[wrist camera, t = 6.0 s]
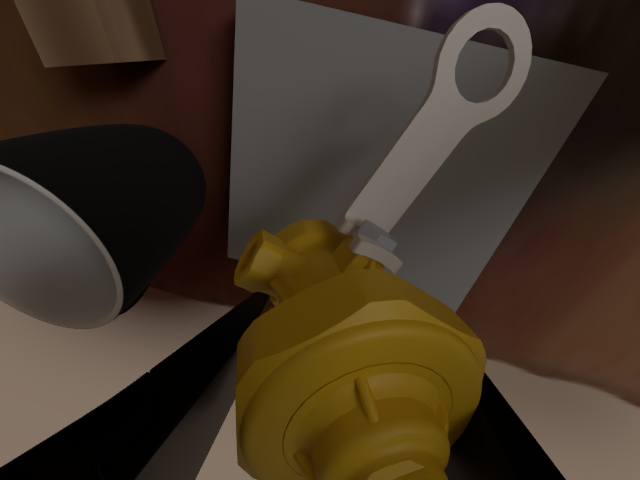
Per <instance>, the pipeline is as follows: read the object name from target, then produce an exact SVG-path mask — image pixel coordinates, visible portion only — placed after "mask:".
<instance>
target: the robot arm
mask: <svg viewBox="0 0 640 480" xmlns="http://www.w3.org/2000/svg"><path fill="white" fill-rule="evenodd" d="M269 304H270V295H269V294H266V293H262V292H255V293H253V294H252V295H251V296H249V297H248V298H247V299H245V300H244V301H243V302H241V303H240V304H239V305H237V306H236V307H234V308H233V309H232V310H230V311H229V312H228V313H227V314H225V315H224V316H222V317H221V318H220V319H218V320H217V321H216V322H214V323H213V324H212V325H210V326H209V327H207V328H206V329H205V330H203V331H202V332H201V333H199V334H198V335H197V336H195V337H194V338H193V339H191V340H190V341H189V342H187V343H186V344H185V345H183V346H182V347H180V348H179V349H178V350H176V351H175V352H174V353H172V354H171V355H170V356H168V357H167V358H166V359H164V360H163V361H162V362H160V363H159V364H158V365H156V366H155V367H153V368H152V369H151V370H150V373H149V372H146V373H145V374H144V375H143V376H141V377H140V378H138V379H137V380H136V381H134V382H133V383H132V384H130V385H129V386H127V387H126V388H125V389H123V390H122V391H120V392H119V393H117V394H116V395H115V396H113V397H112V398H111V399H109V400H108V401H106V402H104V403H103V404H101V405H100V406H98V407H97V408H95V409H94V410H92V411H90V412H89V413H87V414H86V415H84V416H83V417H81V418H80V419H78V420H76V421H75V422H73V423H71V424H70V425H68V426H67V427H65V428H63V429H62V430H60V431H59V432H57V433H55V434H54V435H52V436H51V437H49V438H47V439H46V440H44V441H43V442H41V443H39V444H38V445H36V446H34V447H33V448H31V449H30V450H28V451H26V452H25V453H24V454H21V455H20V456H18V457H17V458H15V459H13V460H12V461H10V462H9V463H7V464H6V465H4V466H2V467H0V480H195V479H196V477H197V475H198V473H199V471H200V469H201V467H202V465H203V463H204V460H205V459H206V457H207V455H208V453H209V451H210V448H211V446H212V444H213V442H214V440H215V438H216V436H217V434H218V432H219V430H220V428H221V426H222V424H223V422H224V420H225V418H226V416H227V414H228V412H229V410H230V408H231V406H232V404H233V402H234V400H235V398H236V395H235V385H236V363H237V344H238V342H239V340H240V339H241V337H242V335H243V334H244V332H245V331H246V330H247V329H248V327H249V326H250V325H251V324H252V322H253V321H254V320H255V319H257V318H258V317H260V316H261V315H263V314H264V313H266V312H267V311H269ZM444 472H445V474H446V476H447V478H448V480H566V479H565V478H564V477H563V475H562V474H561V473H560V471H559V470H558V469H557V467H556V466H555V465H554V463H553V462H552V461H551V459H550V458H549V457H548V455H547V454H546V453H545V451H544V450H543V449H542V447H541V446H540V445H539V444H538V442H537V441H536V439H535V438H534V437H533V435H532V434H531V433H530V432H529V430H528V429H527V428H526V426H525V425H524V424H523V422H522V421H521V420H520V418H519V417H518V416H517V414H516V413H515V412H514V410H513V409H512V408H511V406H510V405H509V404H508V402H507V401H506V400H505V398H504V397H503V396H502V394H501V393H500V392H499V390H498V389H497V388H496V387H495V385H494V384H493V383H492V381H491V380H490V379H489V377H488V376H487V375H486V373H485V372H484V376H483V380H482V391H481V397H480V401H479V404H478V406H477V408H476V410H475V412H474V414H473V416H472V418H471V420H470V422H469V423H468V425H467V427H466V429H465V430H464V432H463V433H462V435H461V436H460V437H459V438H458V439H457V440H456V442H455V443H454V444H453V445H452V446H451V447H450V455H449V460H448V464H447V466H446V468H445V470H444Z"/></svg>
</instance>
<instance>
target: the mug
mask: <svg viewBox="0 0 640 480" xmlns="http://www.w3.org/2000/svg"><path fill="white" fill-rule="evenodd" d="M205 195H206V183H205V178H204V174H203V171H202V169H201V166H200V164H199V163H198V161H197V159H196V158H195V156H194V155H193V154H192V152H191V151H190V150H189V149H188V148H187V147H186V146H185V145H184V144H183V143H182V142H181V141H179V140H178V139H176V138H175V137H173V136H172V135H170V134H168V133H166V132H164V131H161V130H159V129H156V128H152V127H149V126H143V125H134V124H112V125H97V126H87V127H78V128H71V129H64V130H58V131H51V132H45V133H39V134H33V135H28V136H22V137H17V138H12V139H7V140H2V141H0V300H1V301H3V302H4V303H6V304H8V305H10V306H11V307H13V308H15V309H17V310H19V311H21V312H23V313H25V314H27V315H29V316H31V317H34V318H36V319H38V320H41V321H44V322H47V323H50V324H53V325H57V326H61V327H67V328H74V329H90V328H96V327H100V326H104V325H106V324H107V323H109V322H111V321H112V320H114V319H115V318H116V317H117V316H118V315H121V314H123V313H125V312H126V311H128V310H129V309H130V308H132V307H133V306H134V305H135V304H136V303H137V302H138V301H139V299H140V298H141V297H142V296H143V294H144V293H145V291H146V290H147V288H148V287H149V285H150V283H151V281H152V280H153V279H154V278H155V276H156V275H157V274H158V273H159V272H160V270H161V269H162V268H163V267H164V266H165V264H166V263H167V262H168V261H169V259H170V258H171V257H172V256H173V254H174V253H175V252H176V250H177V249H178V248H179V246H180V245H181V244H182V242H183V241H184V239H185V238H186V237H187V235H188V234H189V232H190V231H191V229H192V228H193V226H194V224H195V222H196V221H197V219H198V217H199V215H200V213H201V211H202V208H203V205H204V201H205Z"/></svg>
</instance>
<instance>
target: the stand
mask: <svg viewBox="0 0 640 480" xmlns="http://www.w3.org/2000/svg"><path fill="white" fill-rule="evenodd" d="M444 36H445V35H444V34H440V33H435V32H431V31H427V30H423V29H418V28H414V27H410V26H406V25H401V24H397V23H393V22H389V21H384V20H380V19H376V18H372V17H367V16H363V15H359V14H355V13H350V12H346V11H342V10H338V9H333V8H329V7H325V6H321V5H316V4H312V3H308V2H304V1H299V0H236V23H235V52H234V82H233V111H232V140H231V170H230V199H229V229H228V257H229V258H233V259H237V260H239V259H240V257H241V255H242V253H243V251H244V249H245V248H246V246H247V244H248V243H249V241H250V240H251V239H252V237H253V236H254V235H255V234H256V233H257V232H259V231H260V230H265V231H267V232H269V233H271V234H272V235H274V236H275V235H276V234H277V233H279V232H280V231H281V230H282V229H284V228H285V227H287V226H288V225H290V224H292V223H295V222H298V221H302V220H309V219H319V220H326V221H328V222H329V223H331V224H333V225H335V226H336V222H337V220H338V218H339V217H340V216H341V214H342V213H343V211H344V210H345V209H346V207H347V206H348V204H349V203H350V202H351V200H352V199H353V198H354V196H355V195H356V193H357V192H358V191H359V189H360V188H361V186H362V185H363V184H364V182H365V181H366V179H367V178H368V177H369V175H370V174H371V172H372V171H373V170H374V168H375V167H376V165H377V164H378V163H379V161H380V160H381V159H382V157H383V156H384V154H385V153H386V152H387V150H388V149H389V147H390V146H391V145H392V143H393V142H394V140H395V139H396V138H397V136H398V135H399V133H400V132H401V131H402V129H403V128H404V126H405V125H406V124H407V122H408V121H409V120H410V118H411V117H412V115H413V114H414V113H415V111H416V110H417V108H418V107H419V106H420V104H421V103H422V101H423V99H424V98H425V96H426V94H427V92H428V89H429V87H430V84H431V78H432V72H433V66H434V61H435V55H436V53H437V50H438V48H439V46H440V43H441V41H442V38H443V37H444ZM508 63H509V55H508V50H507V49H503V48H499V47H495V46H490V45H486V44H482V43H478V42H473V41H469V40H467V42H466V43H465V45H464V46H463V48H462V50H461V51H460V53H459V56H458V59H457V63H456V66H455V83H456V86H457V88H458V91H459V93H460V94H461V95H462V96H463V97H464V98H465V99H466V101H470V102H473V103H477V102H482V101H484V100H485V99H487V98H489V97H490V96H492V95H493V94H494V92H495V91H496V90H497V89H498V88H499V87H500V85H501V83H502V81H503V79H504V77H505V75H506V73H507V68H508ZM608 74H609V73H605V72H601V71H597V70H592V69H588V68H584V67H580V66H575V65H571V64H567V63H563V62H558V61H554V60H550V59H546V58H541V57H537V56H533V55H531V64H530V67H529V71H528V75H527V78H526V80H525V82H524V84H523V86H522V88H521V90H520V92H519V94H518V95H517V96H516V98H515V99H514V100H513V101H512V103H511V104H510V105H509V106H508V107H507V108H506V109H505V110H503V111H502V112H501V113H500V114H498V115H497V116H495V117H493V118H491V119H489V120H487V121H485V122H482V123H480V124H478V125H476V126H475V127H473V128H472V129H471V130H469V131H468V132H467V133H466V134H465V136H464V137H463V138H462V139H461V140H460V142H459V143H458V144H457V146H456V147H455V148H454V149H453V151H452V152H451V153H450V155H449V156H448V157H447V158H446V160H445V161H444V162H443V164H442V165H441V166H440V167H439V169H438V170H437V171H436V173H435V174H434V175H433V176H432V178H431V179H430V180H429V182H428V183H427V184H426V185H425V187H424V188H423V189H422V191H421V192H420V193H419V194H418V196H417V197H416V198H415V200H414V201H413V202H412V203H411V205H410V206H409V207H408V209H407V210H406V211H405V212H404V214H403V215H402V216H401V218H400V219H399V220H398V221H397V223H396V224H395V225H394V227H393V228H392V229H391V230H390V232H389V233H388V234H390V235H391V236H392V237H393V238H394V239H395V240H396V241H397V246H396V247H395V248H394V249H393V251H392V252H393V253H394V254H395V255H396V256H397V257H398V258H399V259H400V261H401V262H402V263H403V265H402V266H401V267H400V269H399V270H398V271H397V272H396V274H395V275H396V276H397V277H399V278H401V279H403V280H405V281H407V282H409V283H411V284H412V285H414V286H416V287H417V288H419V289H421V290H423V291H424V292H426V293H428V294H429V295H431V296H432V297H434V298H436V299H437V300H439V301H440V302H442V303H443V304H445V305H447V306H448V307H450V308H451V309H452V310H453V311H454V312H456V310H457V309H458V307H459V306H460V304H461V303H462V301H463V300H464V298H465V296H466V295H467V293H468V292H469V290H470V289H471V287H472V286H473V284H474V282H475V281H476V279H477V278H478V276H479V275H480V273H481V272H482V270H483V268H484V267H485V265H486V264H487V262H488V261H489V259H490V258H491V256H492V254H493V253H494V251H495V250H496V248H497V247H498V245H499V244H500V242H501V240H502V239H503V237H504V236H505V234H506V233H507V231H508V230H509V228H510V226H511V225H512V223H513V222H514V220H515V219H516V217H517V216H518V214H519V212H520V211H521V209H522V208H523V206H524V205H525V203H526V202H527V200H528V199H529V197H530V195H531V194H532V192H533V191H534V189H535V188H536V186H537V185H538V183H539V181H540V180H541V178H542V177H543V175H544V174H545V172H546V171H547V169H548V167H549V166H550V164H551V163H552V161H553V160H554V158H555V157H556V155H557V153H558V152H559V150H560V149H561V147H562V146H563V144H564V143H565V141H566V139H567V138H568V136H569V135H570V133H571V132H572V130H573V129H574V127H575V125H576V124H577V122H578V121H579V119H580V118H581V116H582V115H583V113H584V111H585V110H586V108H587V107H588V105H589V104H590V102H591V101H592V99H593V97H594V96H595V94H596V93H597V91H598V90H599V88H600V87H601V85H602V83H603V82H604V80H605V79H606V77H607V76H608ZM383 270H385V271H388V272H390V273H392V274H394V273H393V272H392V271H391V270H390V269H388V268H387V267H386V266H385V268H384V269H383Z"/></svg>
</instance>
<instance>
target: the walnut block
mask: <svg viewBox="0 0 640 480" xmlns="http://www.w3.org/2000/svg"><path fill="white" fill-rule="evenodd" d="M14 2H15V4H16V6H17V9H18V11H19V13H20V15H21V17H22V19H23V22H24V24H25V26H26V28H27V30H28V32H29V35H30V37H31V39H32V41H33V43H34V45H35V48H36V50H37V52H38V54H39V56H40V58H41V61H42V63H43V65H44V67H45V68H47V67H62V66H77V65H92V64H107V63H122V62H136V61H151V60H166V56H165V53H164V49H163V46H162V42H161V38H160V35H159V31H158V28H157V24H156V20H155V17H154V13H153V9H152V6H151V2H150V0H14Z"/></svg>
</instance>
